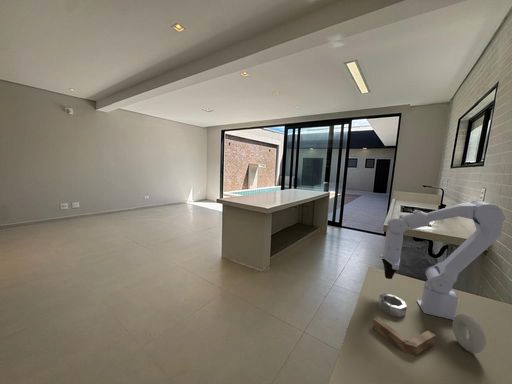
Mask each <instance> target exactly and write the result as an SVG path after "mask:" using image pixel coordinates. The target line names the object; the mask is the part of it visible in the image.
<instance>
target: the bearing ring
mask: <svg viewBox="0 0 512 384" xmlns="http://www.w3.org/2000/svg"><path fill="white" fill-rule="evenodd" d="M377 304H378V307H379V309H380V311H382V312H384V313H386V314H387V315H388V316H391V317H396V318H399V319H400V318H402V317H404V316H406V314H407V308H408V307H407V303H406V302H405V301H404V300H403V299H402V298H400V297H398V296H396V295H394V294H389V293H387V292H386V293H382V294H380V295H379V296H378V302H377Z"/></svg>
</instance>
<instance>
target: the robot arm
mask: <svg viewBox="0 0 512 384" xmlns="http://www.w3.org/2000/svg"><path fill="white" fill-rule="evenodd" d="M458 217H460V218H464V219H469V220H472V222H473V223H474V227H475V229H476V230H474V232H473V233H471V235H470V236H469V237H467V238H466V239H465V240H464V241H463V242H462V243H461V244H460V245H459V246H458V247H457V248H456V249H455V250H453V251H452V253H450V255H448V256H447V257H446V258H445V259H444V260H443V261H441V262H436V264H435V265H432V266H429V267H428V268H426V270H425V276H426V278H427V280H425V282H424V285H423V289H422V290H423V291H422V296H421V299H420V300H419V299H416V302H417V304H418V305H419V307H420V309H421V311H422V312H423V313H424V314H426V315H431V316H435V317H438V318H439V317H440V318H442V319H443V318H444V319H449V320H452V321H453V320H454V318H455V317H456V313H457V308H458V302H459V301H458V296H457V294H456V292H455V291H453V287H454V284H455V283H457V281H458V277H459V274H460V273H461V272H462V271H463V270H464V269H465V268H466V267H468V266H469V265H470V264H471V263H473V261H474V260H476V258H479V256H481V254H482V253H483V252H485V251H486V250H487V249H488V248H490V246H492V245H493V244H494V243H495V242H496V241H497V240H499V238H500V237H502V236H501V235H502V231H503V224H504V221H505V220H506V219H507V218H506V216H505V214H504V212H503V209H502V208H501V207H499V206H498V205H497V204H496V205H495V204H492V203H488V202H487V201H484V200H478V199H477V200H472V201H471V202H470V201H467V202H462V203H459V204H458V203H457V204H454V205H451V206H447V207H444V208H441V209H436V210H434V211H433V210H432V211H430V212H424V211H422V210H421V211H418V210H413V211H412V212H411V213H409V214H405V215H403V214H399V215H398V216H392V217H390V218H388V221H387V222H386V223H387V230H386V235H385V240H384V247H383V254H381V253H380V254H379V257H380V258H381V260H382V263H383V270H384V277H385V279H388V280H393V277H394V275H395V274H396V272H397V271H399V270H400V266H401V265H400V263H401V254H402V248H403V240H404V233H405V232H406V231H410V230H414V229H419V228H424V227H427V226H429V225H430V223H431V222H436V221H441V220H445V219H452V218H458Z"/></svg>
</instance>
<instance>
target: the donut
mask: <svg viewBox="0 0 512 384" xmlns="http://www.w3.org/2000/svg"><path fill="white" fill-rule="evenodd" d="M452 331H453V334H454V337H455V339H456V342H457V343H458V344H459V345H460V346H461V347H462V349H464V350H466V352H468V353H472V354H480V353H482V352H483V351H484V350H485V348H486V345H487V344H486V343H487V339H486V334H485V331H484V329H483V328H482V326H481V324H480V323H479V322H478V320H476V318H474V317H473V316H472V315H470V314H465V313H459V314H457V315H455V318H454V320H452Z"/></svg>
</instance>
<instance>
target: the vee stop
mask: <svg viewBox="0 0 512 384" xmlns="http://www.w3.org/2000/svg"><path fill="white" fill-rule="evenodd" d="M372 328H373V329H374V330H375V331H376V332H378V333H379V334H380V335H382V337H384V338H386V339H387V341H389V342H391V344H393V345H394V346H396V348H398V349H399V350H401V351H402V352H403V354H407V355H410V356H414V357H417V355H418V354H419V353H422V352H423V351H424V350H426V349H428V348H429V347H431V346H433V345H434V344H435V340H436V334H435V333H433V332H431V331H430V330H426V331H425V332H422V333H420V334H419V335H416V336H415V337H413V338H411V339H410V340H409V339H407V338H406V336H404V335H403V334H401V333H400V332H398V331H397V330H395V329H394V328H393V327H391V326H390V325H388V324H387V323H386V322H384V321H383V320H381V319H380V318H379V317H376V318H373V320H372Z"/></svg>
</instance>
